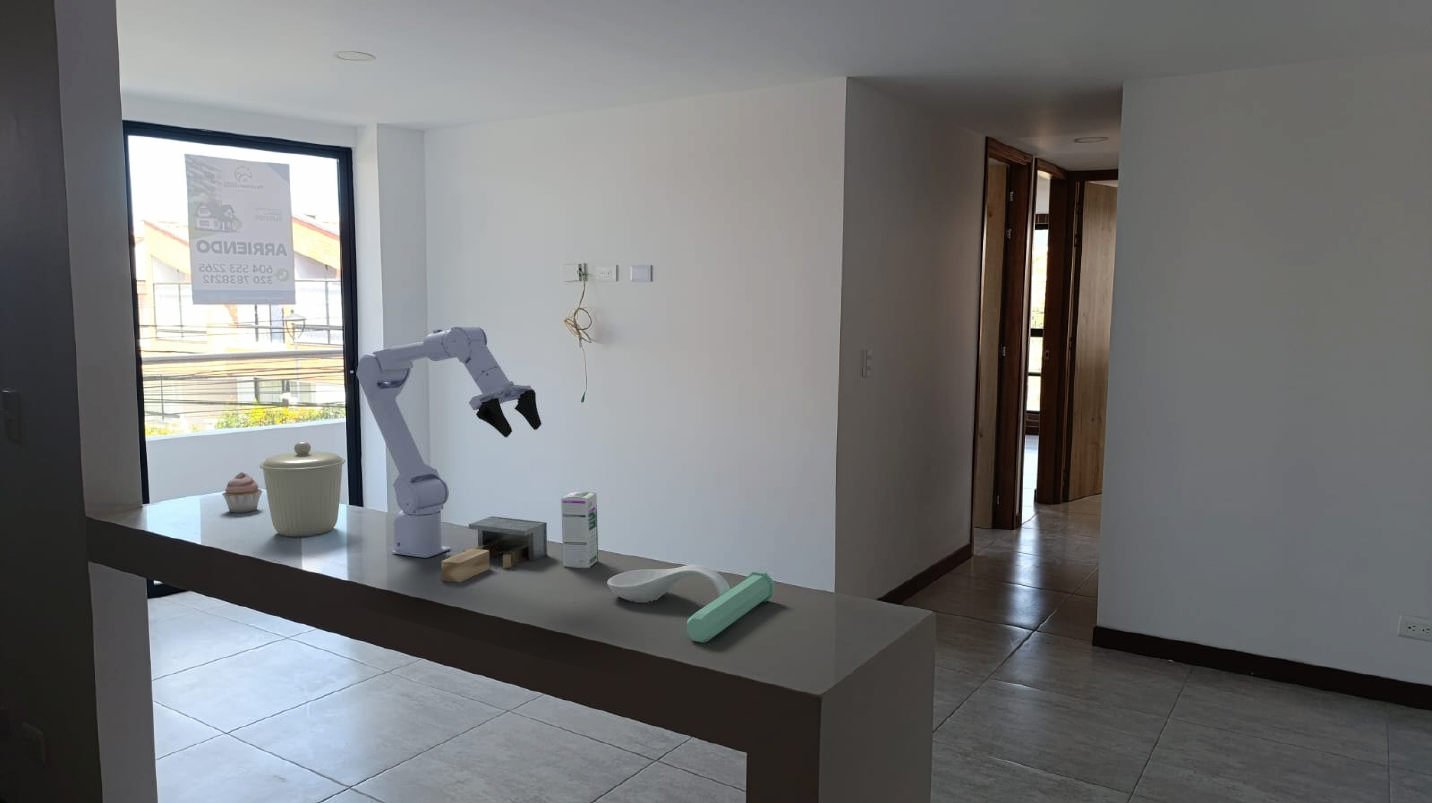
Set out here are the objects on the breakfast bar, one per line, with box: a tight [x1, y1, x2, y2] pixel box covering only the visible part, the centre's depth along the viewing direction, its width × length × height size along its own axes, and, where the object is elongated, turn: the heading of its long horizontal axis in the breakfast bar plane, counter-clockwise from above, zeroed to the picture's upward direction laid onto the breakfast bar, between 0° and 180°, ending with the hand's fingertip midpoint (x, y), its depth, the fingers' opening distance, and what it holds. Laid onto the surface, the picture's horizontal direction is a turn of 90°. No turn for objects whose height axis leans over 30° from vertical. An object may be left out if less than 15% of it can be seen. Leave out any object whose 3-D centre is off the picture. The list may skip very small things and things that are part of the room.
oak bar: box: [440, 548, 490, 583], centre depth 185 cm, size 4×10×4 cm, turn 159°
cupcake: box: [221, 471, 263, 514], centre depth 240 cm, size 9×9×10 cm
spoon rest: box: [606, 564, 732, 603], centre depth 170 cm, size 24×12×7 cm, turn 67°
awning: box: [462, 516, 548, 569], centre depth 197 cm, size 14×12×7 cm
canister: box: [259, 441, 346, 538], centre depth 218 cm, size 18×18×21 cm
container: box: [686, 570, 775, 643], centre depth 160 cm, size 6×6×25 cm
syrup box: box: [560, 491, 599, 569], centre depth 193 cm, size 6×6×14 cm
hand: (523, 430), depth 184 cm, fingers open, 7 cm apart
